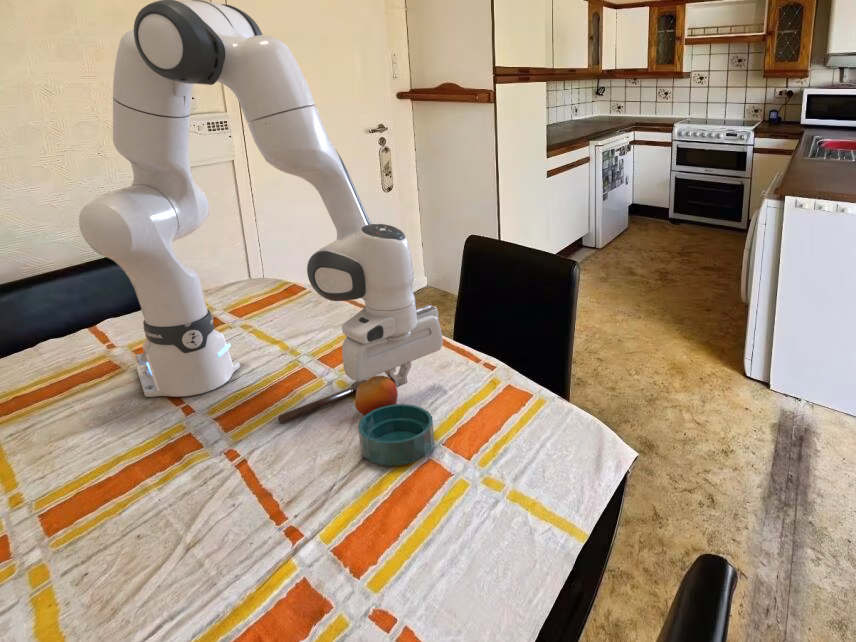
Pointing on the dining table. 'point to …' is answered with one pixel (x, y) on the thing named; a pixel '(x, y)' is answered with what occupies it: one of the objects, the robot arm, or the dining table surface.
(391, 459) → the bowl
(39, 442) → the dining table surface
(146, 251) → the robot arm
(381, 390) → the fruit
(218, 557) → the dining table surface
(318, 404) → the spoon
